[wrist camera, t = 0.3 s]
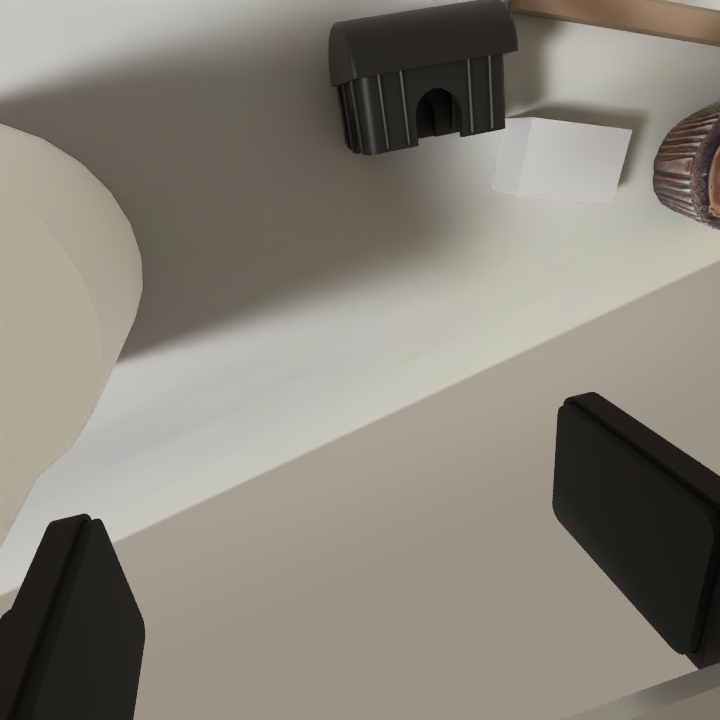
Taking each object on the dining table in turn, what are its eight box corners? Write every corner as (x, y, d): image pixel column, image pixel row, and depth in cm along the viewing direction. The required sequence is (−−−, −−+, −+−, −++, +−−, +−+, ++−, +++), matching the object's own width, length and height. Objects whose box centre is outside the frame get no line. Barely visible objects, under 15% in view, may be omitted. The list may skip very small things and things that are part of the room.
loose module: (502, 118, 38) (532, 117, 34) (595, 130, 40) (632, 129, 36) (490, 190, 40) (517, 195, 36) (578, 197, 42) (612, 203, 38)
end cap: (465, 11, 34) (518, -15, 28) (473, 127, 37) (521, 126, 31) (320, 34, 33) (342, 12, 27) (340, 153, 36) (364, 157, 30)
